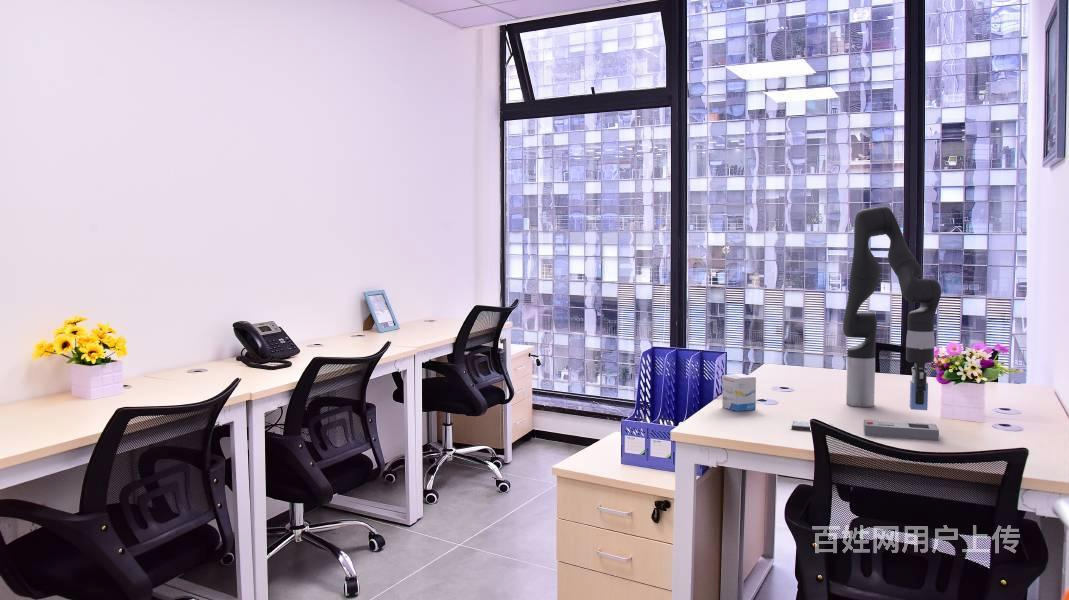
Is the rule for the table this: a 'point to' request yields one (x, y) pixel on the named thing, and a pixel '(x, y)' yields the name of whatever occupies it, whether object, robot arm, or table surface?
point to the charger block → (913, 394)
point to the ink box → (739, 392)
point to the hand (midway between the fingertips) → (918, 402)
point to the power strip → (901, 429)
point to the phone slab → (802, 425)
